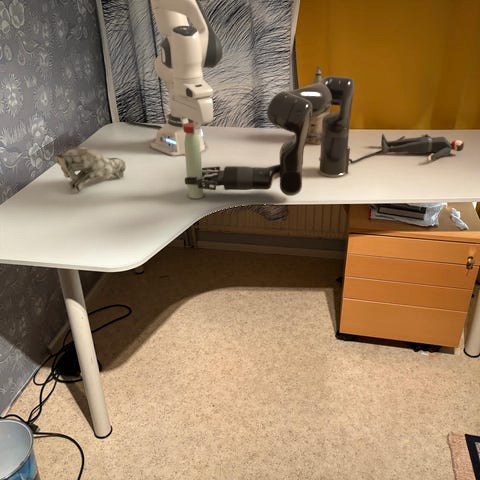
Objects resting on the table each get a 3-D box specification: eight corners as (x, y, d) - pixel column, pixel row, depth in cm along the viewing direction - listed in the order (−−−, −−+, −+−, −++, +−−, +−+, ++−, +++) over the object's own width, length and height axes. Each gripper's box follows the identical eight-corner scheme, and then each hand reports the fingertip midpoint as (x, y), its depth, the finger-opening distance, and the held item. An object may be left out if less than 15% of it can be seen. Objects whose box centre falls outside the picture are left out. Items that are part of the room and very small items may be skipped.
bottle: (185, 194, 176) (180, 125, 164) (198, 191, 178) (194, 122, 166) (193, 199, 172) (187, 129, 160) (206, 196, 174) (201, 126, 163)
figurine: (92, 206, 176) (137, 172, 185) (60, 158, 168) (108, 124, 176) (80, 204, 184) (124, 171, 193) (49, 157, 175) (96, 125, 184)
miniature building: (320, 132, 228) (325, 59, 214) (338, 142, 217) (344, 66, 203) (293, 137, 224) (296, 63, 209) (310, 147, 213) (314, 69, 198)
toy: (381, 127, 217) (459, 127, 211) (380, 142, 220) (457, 142, 214) (382, 148, 195) (470, 149, 189) (381, 165, 198) (468, 166, 192)
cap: (181, 133, 163) (181, 126, 162) (186, 128, 167) (186, 122, 166) (196, 133, 162) (195, 127, 161) (200, 129, 166) (200, 123, 165)
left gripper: (162, 81, 163) (166, 125, 170) (197, 94, 149) (199, 142, 155) (180, 78, 166) (183, 121, 173) (216, 90, 152) (218, 137, 159)
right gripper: (240, 158, 175) (189, 158, 176) (237, 176, 163) (181, 175, 164) (240, 180, 179) (190, 179, 180) (237, 198, 166) (183, 197, 168)
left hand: (191, 131), depth 164 cm, fingers closed on cap, 4 cm apart
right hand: (186, 177), depth 172 cm, fingers closed on bottle, 5 cm apart
